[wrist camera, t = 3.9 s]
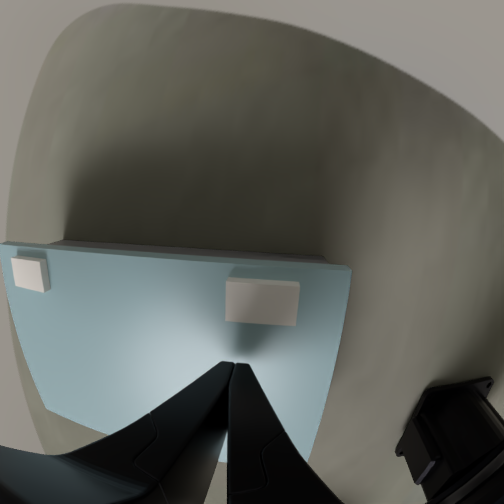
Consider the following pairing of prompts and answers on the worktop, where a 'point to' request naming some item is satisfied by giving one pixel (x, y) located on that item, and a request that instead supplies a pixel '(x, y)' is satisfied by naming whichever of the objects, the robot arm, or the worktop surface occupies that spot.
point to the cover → (172, 329)
